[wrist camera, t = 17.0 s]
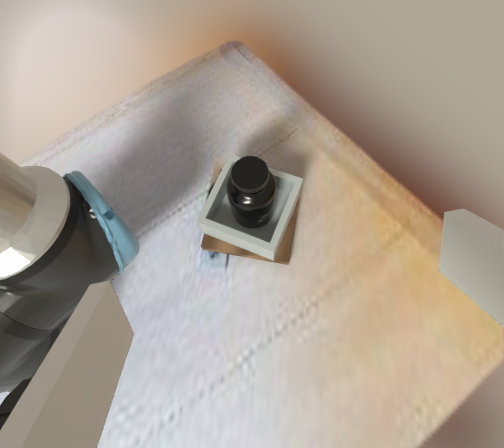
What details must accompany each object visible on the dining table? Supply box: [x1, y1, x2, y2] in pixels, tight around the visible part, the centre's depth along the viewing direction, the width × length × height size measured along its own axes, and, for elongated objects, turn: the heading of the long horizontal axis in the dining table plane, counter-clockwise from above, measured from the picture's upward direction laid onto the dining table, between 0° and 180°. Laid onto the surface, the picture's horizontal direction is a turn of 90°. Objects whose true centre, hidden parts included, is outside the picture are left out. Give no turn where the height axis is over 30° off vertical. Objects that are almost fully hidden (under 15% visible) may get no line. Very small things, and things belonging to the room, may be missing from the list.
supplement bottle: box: [226, 156, 276, 229], centre depth 44 cm, size 7×7×12 cm
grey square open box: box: [196, 154, 303, 261], centre depth 49 cm, size 12×12×6 cm
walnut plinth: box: [201, 169, 300, 265], centre depth 53 cm, size 14×14×2 cm
